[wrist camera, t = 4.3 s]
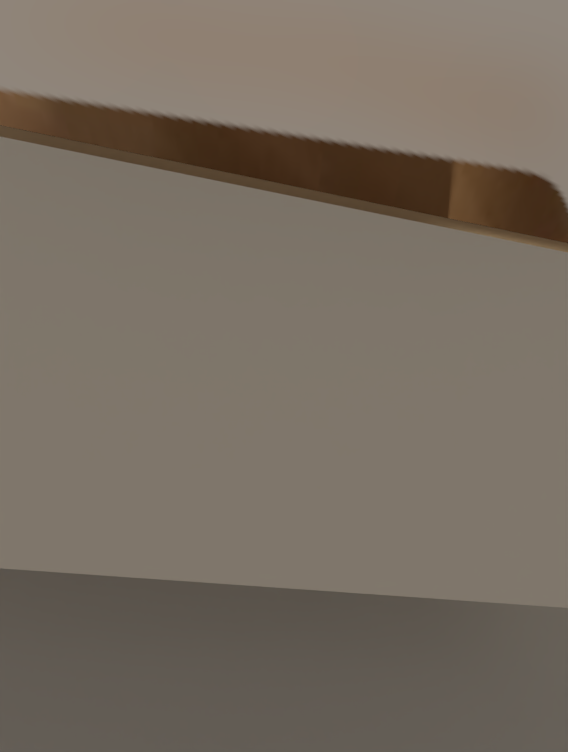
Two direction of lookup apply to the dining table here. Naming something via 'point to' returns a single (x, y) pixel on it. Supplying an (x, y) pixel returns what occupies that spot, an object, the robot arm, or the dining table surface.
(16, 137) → the carton
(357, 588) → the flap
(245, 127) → the dining table surface
